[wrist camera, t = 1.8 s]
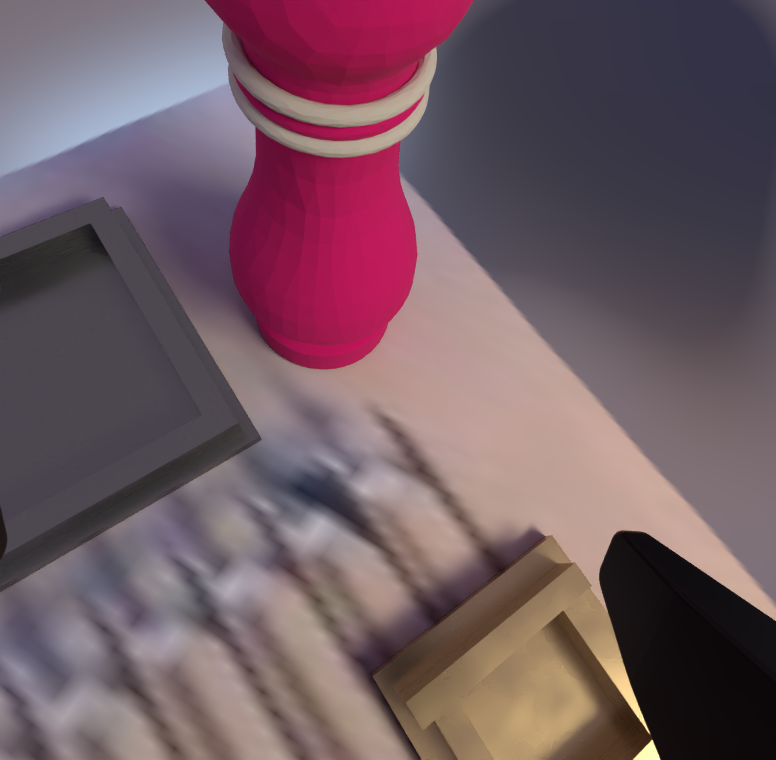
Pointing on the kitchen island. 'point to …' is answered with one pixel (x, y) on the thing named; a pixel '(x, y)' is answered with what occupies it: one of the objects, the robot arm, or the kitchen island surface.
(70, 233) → the graphite square tray
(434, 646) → the brass square tray
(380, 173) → the pepper mill
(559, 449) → the kitchen island surface
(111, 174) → the kitchen island surface
